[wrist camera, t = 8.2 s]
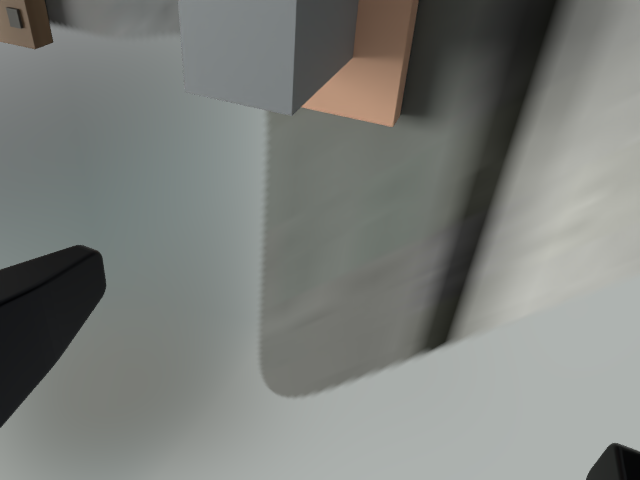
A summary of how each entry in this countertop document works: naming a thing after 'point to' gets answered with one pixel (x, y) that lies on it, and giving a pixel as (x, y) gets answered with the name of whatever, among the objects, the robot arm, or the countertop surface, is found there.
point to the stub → (300, 54)
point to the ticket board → (24, 23)
